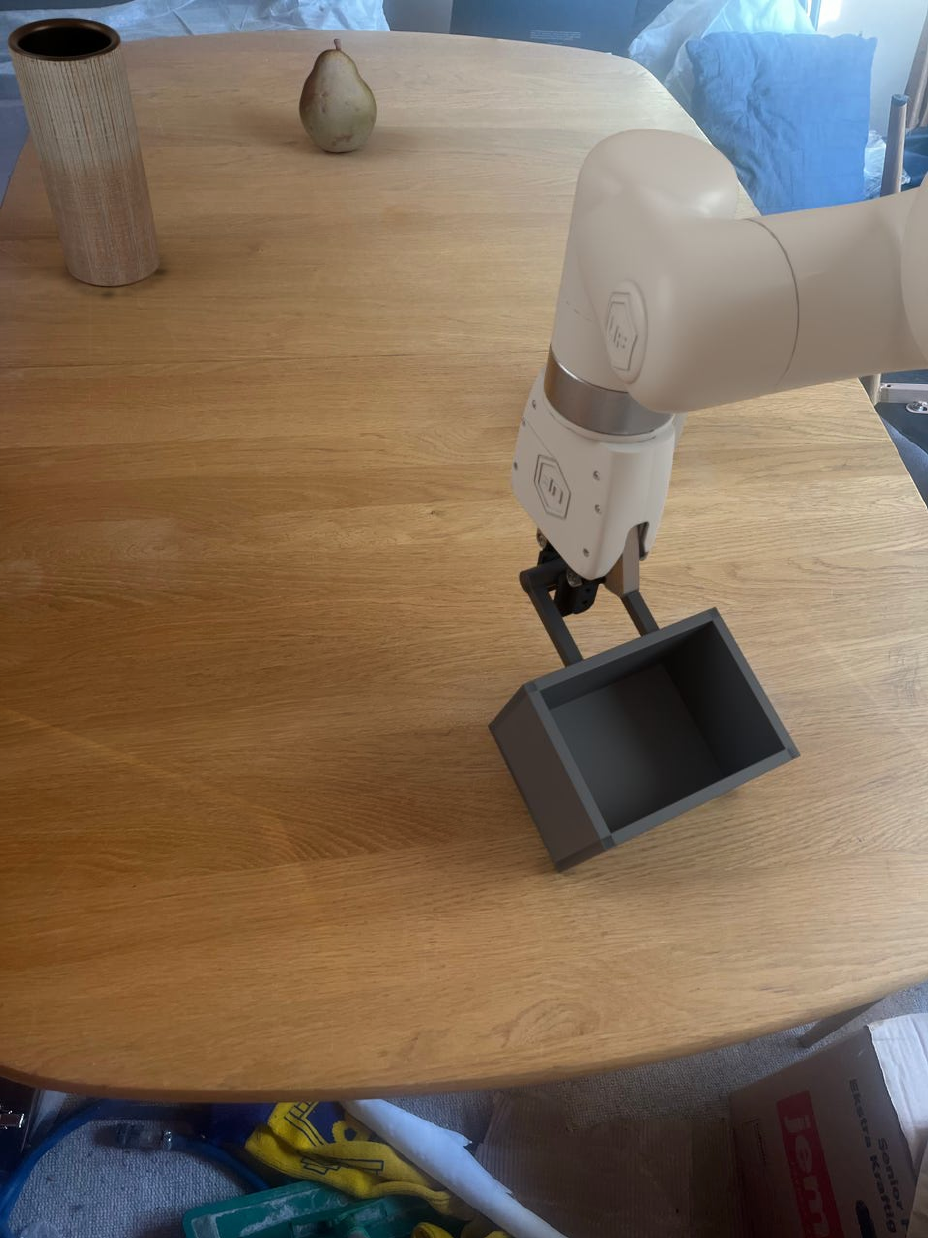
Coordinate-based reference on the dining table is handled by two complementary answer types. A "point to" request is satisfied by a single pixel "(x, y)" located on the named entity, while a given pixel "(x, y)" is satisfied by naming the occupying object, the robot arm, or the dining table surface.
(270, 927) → the dining table surface
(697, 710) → the grey tool caddy
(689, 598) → the dining table surface
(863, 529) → the dining table surface
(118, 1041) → the dining table surface
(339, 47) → the fruit
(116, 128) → the planter
